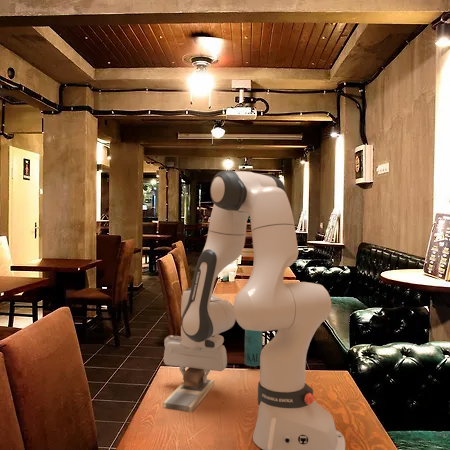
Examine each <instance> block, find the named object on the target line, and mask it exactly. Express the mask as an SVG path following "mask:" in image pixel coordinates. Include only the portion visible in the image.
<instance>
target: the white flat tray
mask: <svg viewBox="0 0 450 450" xmlns="http://www.w3.org/2000/svg"><path fill="white" fill-rule="evenodd" d="M214 386H215V379H209V378H207V381H206V383H203V385H202V386H201V387H200V388H199V389H198V390H190V389H184V381H182V383H181V384H180V385H178V386H177V388H176V389H174V390H173V391H172V393H171V394H169V396H168V397H167V398H165V400H164V401H163V402H162V409H168V410H176V411H182V412H189V413H193V412H194V411H195V409H196V408H197V407H198V405H199V404H200V403H201V401H203V399H204V398H205V397H206V396H207V394H208V393H209V392H210V391H211V389H212V388H213V387H214Z"/></svg>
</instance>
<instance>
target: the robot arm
mask: <svg viewBox="0 0 450 450" xmlns="http://www.w3.org/2000/svg"><path fill="white" fill-rule="evenodd" d="M209 195H210V199H211V201H212V202H213V205H212V206H213V207H212V209H211V210H212V211H211V213H210V219H209V224H208V231H207V237H206V242H205V244H204V247H203V249H202V252H201V253H200V255H199V257H198V259H197V263H196V266H195V271H194V273H193V275H194V276H193V279H192V283H191V287H188V288H186V289H184V291H183V292H182V294H181V295H182V296H181V300H180V301H181V303H180V304H181V305H180V307H181V308H180V317H181V321H180V322H181V323H180V335H173V334H172V335H171V334H170V335H168V336H166V337H165V338H164V344H163V345H164V353H163V362H164V365H166V366H172V367H173V366H174V367H179V371H180V373H181V376H182V381H184V372H185V371H186V370H187V369H188V368H197V369H204V373H205V375H202V377H201V383H206V381H207V379H208V378H207V377H208V375H209V374H210V371H213V372H214V371H215V372H224V370H225V369H226V368H227V366H228V357H227V349H226V347H225V345H223V343H224V341H225V339H224V336H222V335H220V334H221V333H224V332H226V331H228V330H230V329H232V328H233V327H234V326H235V324H236V322H237V324H238V326H240V327H241V328H242V329H243V330H244V331H245V330H252V331H262V332H269V331H276V334H275V335H274V337H273V338H272V339H271V340H270V341H269V342H268V343H266V344H265V345H263V347H262V348H263V349H262V351H261V355H260V365H259V381H258V383H257V384H258V385H257V394H256V395H257V405H258V412H257V419H256V423H255V427H254V431H253V433H252V441H253V442H254V444H255V445H256V446H257V447H258V448H259V449H262V450H347V449H346V447H347V446H346V438H345V437H344V435H343V434H342V432H340V430H337V428H336V425H335V424H336V423H335V420H334V417H333V415H331V413H330V412H329V411H327V410H326V409H325V408H324V407H323V406H321V405H320V403H318V402H316V401H315V399H314V398H315V397H314V386H313V384H311V385H310V386H309V384H307V383H306V366H307V365H306V363H307V354H308V350H309V347H310V343H311V341H312V339H313V337H314V335H315V333H316V331H317V330H318V328H319V327H320V326H321V324H322V323H324V322H325V321H326V320H327V319H328V318H329V316H330V314H331V311H332V300H331V296H330V294H329V292H328V290H327V289H326V288H325V287H324V285H322V284H320V283H314V282H307V281H301V282H300V281H296V282H284V275H285V272H286V270H287V269H288V268H290V267H291V266H292V265H293V264H294V263H295V262H296V261H297V259H298V255H299V247H298V240H297V234H296V226H295V221H294V215H293V210H292V208H291V203H290V200H289V198H288V195H287V192H286V187H285V184H284V182H283V181H282V180H281V179H279V178H278V177H276V176H274V175H271V174H270V175H269V174H268V175H265V174H261V173H257V172H252V171H245V170H244V171H240V170H239V171H238V170H237V171H234V170H232V169H231V170H223V171H219V172H217V173H216V174H215V175H214V177H213V178H212V180H211V183H210V187H209ZM248 218H249V219H250V228H251V238H252V249H253V250H252V251H253V263H252V264H253V265H252V269H251V274H250V275H249V278H248V280H247V282H246V283H245V285H244V286H243V287H242V288H241V289H240V290H239V291H238V292H237V294H236V296H235V297H234V301H233V304H232V303H231V302H230V301H228V300H226V299H223V298H220V297H218V296H216V295H215V294H213V290H214V286H215V283H216V279H217V277H218V276H219V274H221V272H222V271H223V270H224V269H225V268H226V267H228V266H229V265H231V264H232V263H233V262H235V261H236V260H238V258H239V257H240V256H241V255H242V252H243V250H244V247H245V244H246V237H247V236H246V234H247V223H248ZM186 368H187V369H186Z"/></svg>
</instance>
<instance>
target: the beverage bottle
mask: <svg viewBox="0 0 450 450" xmlns="http://www.w3.org/2000/svg"><path fill="white" fill-rule="evenodd" d="M263 348H264V345H263V331H252V330H245V329H244V354H243V355H244V356H243V357H244V359H243V361H244V364H245V365H246V366H250V367H260V355H261V351H262V349H263Z"/></svg>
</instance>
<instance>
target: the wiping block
mask: <svg viewBox="0 0 450 450" xmlns="http://www.w3.org/2000/svg"><path fill="white" fill-rule="evenodd" d="M185 370H186V371H185V372H184V380H183V382H184V389H190V390H198V389H199V388H200V387H201V386H202V385H203V383H201V377H202V375H205V373H204V369H197V368H188V367H187V369H185Z"/></svg>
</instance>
